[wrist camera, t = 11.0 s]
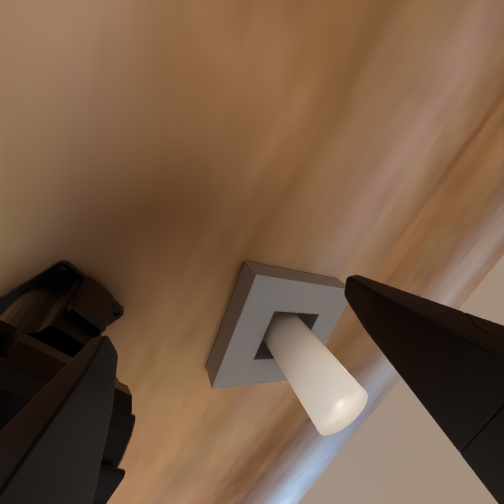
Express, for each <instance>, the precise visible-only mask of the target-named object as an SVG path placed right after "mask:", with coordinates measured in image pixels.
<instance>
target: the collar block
mask: <svg viewBox="0 0 504 504" xmlns="http://www.w3.org/2000/svg"><path fill="white" fill-rule="evenodd" d="M344 291H345V284H344V283H343V282H341V281H340V280H338V279H337V278H331V277H326V276H321V275H316V274H311V273H305V272H300V271H295V270H290V269H284V268H279V267H274V266H269V265H263V264H258V263H253V262H248V261H244V264H243V267H242V270H241V272H240V275H239V278H238V280H237V283H236V286H235V289H234V291H233V294H232V297H231V299H230V302H229V305H228V308H227V310H226V313H225V316H224V318H223V321H222V324H221V327H220V329H219V332H218V335H217V337H216V340H215V343H214V345H213V348H212V351H211V354H210V356H209V359H208V362H207V364H206V369H207V372H208V376H209V380H210V384H211V388H212V389H213V388H222V387H232V386H241V385H250V384H259V383H268V382H277V381H286V380H287V378H286V377H285V375H284V374H283V372H282V370H281V369H280V367H279V365H278V364H277V362H276V360H275V359H274V357H273V355H272V354H271V352H270V350H269V349H268V347H267V345H266V344H265V342H264V341H262V339H263V337H264V334H265V332H266V330H267V327H268V325H269V323H270V320H271V318H272V316H273V314H274V311H280V312H294V313H298V315H297V316H298V317H299V318H300V319H301V320H302V321H303V322H304V324H305V325H306V326H307V327H308V328H309V329H310V330H311V331H312V332H313V334H314V335H315V336H316V337H317V338H318V339H319V340H320V341H321V342H322V344H323V345H324V346H325V344H326V343H327V341H328V339H329V337H330V335H331V333H332V331H333V329H334V327H335V325H336V324H337V322H338V320H339V318H340V316H341V314H342V312H343V310H344V308H345V306H346V305H347V303H348V301H347V300H346V298H345V295H344Z"/></svg>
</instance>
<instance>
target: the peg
mask: <svg viewBox="0 0 504 504" xmlns="http://www.w3.org/2000/svg"><path fill="white" fill-rule="evenodd" d="M263 340H264V342H265V344H266V345H267V347H268V349H269V350H270V352H271V354H272V355H273V357H274V359H275V360H276V362H277V364H278V365H279V367H280V369H281V370H282V372H283V374H284V375H285V377H286V378H287V380H288V382H289V383H290V385H291V387H292V388H293V390H294V392H295V393H296V395H297V397H298V398H299V400H300V402H301V403H302V405H303V407H304V408H305V410H306V412H307V413H308V415H309V417H310V418H311V420H312V422H313V423H314V425H315V426H316V428H317V430H318V431H319V433H320V434H321V435H323V436H328V435H332V434H335V433H337V432H339V431H340V430H342V429H344V428H345V427H346V426H348V425H349V424H350V423H351V422H352V421H353V420H354V419H355V418H356V417H357V416H358V415H359V414H360V413H361V411H362V410H363V408H364V406H365V404H366V402H367V399H368V395H367V393H366V391H365V390H364V389H363V388H362V387H361V386H360V385H359V384H358V382H357V381H356V380H355V379H354V378H353V377H352V376H351V375H350V374H349V372H348V371H347V370H346V369H345V368H344V367H343V366H342V365H341V364H340V362H339V361H338V360H337V359H336V358H335V357H334V356H333V355H332V354H331V352H330V351H329V350H328V349H327V348H326V347H325V346H324V345H323V344H322V342H321V341H320V340H319V339H318V338H317V337H316V336H315V335H314V334H313V332H312V331H311V330H310V329H309V328H308V327H307V326H306V325H305V324H304V322H303V321H302V320H301V319H300V318H299V317H298V316H297V315H296V313H294V312H280V311H274V314H273V316H272V318H271V320H270V323H269V325H268V327H267V330H266V332H265V334H264V337H263Z"/></svg>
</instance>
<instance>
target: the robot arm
mask: <svg viewBox="0 0 504 504" xmlns="http://www.w3.org/2000/svg"><path fill="white" fill-rule="evenodd" d="M59 266H63V267H65V268H66V270H61V269H60V268H59ZM344 295H345V298H346V300H347V301H348V303H349V304H350V306H351V308H352V309H353V311H354V312H355V314H356V316H357V317H358V319H359V320H360V322H361V324H362V325H363V327H364V328H365V330H366V331H367V332H368V334H369V335H370V337H371V338H372V339H373V340H374V342H375V343H376V344H377V346H378V347H379V348H380V350H381V351H382V352H383V353H384V355H385V356H386V357H387V359H388V360H389V361H390V363H391V364H392V365H393V366H394V368H395V369H396V370H397V372H398V373H399V374H400V376H401V377H402V378H403V379H404V381H405V382H406V383H407V385H408V386H409V387H410V389H411V390H412V391H413V392H414V394H415V395H416V396H417V398H418V399H419V400H420V402H421V403H422V404H423V406H424V407H425V408H426V409H427V411H428V412H429V413H430V415H431V416H432V417H433V419H434V420H435V421H436V423H437V424H438V425H439V426H440V428H441V429H442V430H443V432H444V433H445V434H446V436H447V437H448V438H449V439H450V441H451V442H452V443H453V445H454V446H455V447H456V449H457V450H458V451H459V452H460V454H461V455H462V457H463V458H464V459H465V461H466V462H467V463H468V465H469V466H470V467H471V468H472V470H473V471H474V472H475V474H476V475H477V476H478V478H479V479H480V480H481V481H482V483H483V484H484V485H485V487H486V488H487V489H488V491H489V492H490V493H491V494H492V496H493V497H494V498H495V500H496V501H497V502H498V504H504V326H503V325H500V324H497V323H494V322H491V321H488V320H485V319H482V318H479V317H476V316H473V315H471V314H468V313H464V312H462V311H459V310H456V309H454V308H451V307H448V306H445V305H442V304H439V303H436V302H434V301H431V300H428V299H425V298H422V297H419V296H416V295H414V294H411V293H408V292H405V291H402V290H399V289H397V288H394V287H391V286H388V285H385V284H382V283H379V282H377V281H374V280H371V279H368V278H365V277H362V276H360V275H354V276H349V277H348V278H347V279H346V285H345V291H344ZM115 311H119V313H115ZM123 312H124V309H123V308H122V307H121V306H120V305H119V304H118V303H117V302H115V301H114V300H113V296H111V295H110V294H109V293H108V292H107V291H106V290H104V289H103V288H102V287H101V286H100V285H98V284H97V283H96V282H95V281H94V280H92V279H91V278H89V277H85V276H84V275H83V274H82V273H81V272H79V271H78V270H77V269H76V268H75V267H73V266H72V265H71V264H70V263H68V262H66V261H59V262H57V263H55V264H54V265H52V266H50V267H49V268H47V269H45V270H44V271H42V272H40V273H39V274H37V275H35V276H34V277H32V278H31V279H29V280H27V281H26V282H24V283H22V284H21V285H19V286H17V287H16V288H14V289H13V290H11V291H9V292H8V293H6V294H4V295H3V296H1V297H0V504H106V503H107V501H108V500H109V498H110V497H111V496H112V494H113V493H114V491H115V490H116V488H117V487H118V485H119V484H120V482H121V481H122V479H123V478H124V475H125V470H124V469H120V468H118V467H119V465H120V463H121V461H122V459H123V456H124V454H125V451H126V449H127V446H128V444H129V441H130V439H131V436H132V432H133V428H134V424H135V415H134V414H131V412H132V395H131V393H130V390H129V388H128V386H127V385H125V384H123V383H121V382H119V381H118V378H116V369H117V359H118V356H117V351H116V349H115V347H114V346H113V344H112V342H111V340H110V338H109V337H108V336H102V332H104V331H105V330H106V326H108V325H109V324H111V323H112V322H114V321H115V320H117V319H118V318H120V317H121V316H122V315H123Z"/></svg>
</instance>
